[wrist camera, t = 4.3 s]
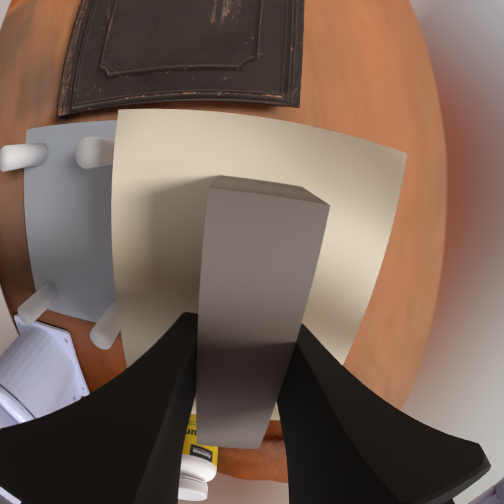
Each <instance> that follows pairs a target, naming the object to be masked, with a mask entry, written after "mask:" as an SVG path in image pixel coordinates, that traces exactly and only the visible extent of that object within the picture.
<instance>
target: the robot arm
mask: <svg viewBox="0 0 504 504" xmlns="http://www.w3.org/2000/svg"><path fill="white" fill-rule="evenodd" d="M14 319H15V322H16V325H17V328H18V331H19V333H20V335H19V336H18V338H17V339H16V340H15V341H14V342H13V343H12V344H11V345H10V347H9V348H8V349H7V350H6V351H5V352H4V353H3V355H2V356H1V357H0V504H178V492H179V480H180V470H181V461H182V452H183V446H184V441H185V436H186V432H187V428H188V424H189V419H190V415H191V411H192V407H193V403H194V399H195V395H196V368H197V334H198V313H191V312H184V313H182V314H181V315H180V316H179V318H178V319H177V320H176V321H175V322H174V324H173V325H172V326H171V327H170V328H169V329H168V330H167V331H166V332H165V334H164V335H163V336H162V337H161V338H160V339H159V340H158V341H157V342H156V343H155V344H154V345H153V346H152V347H151V348H150V349H149V350H148V351H146V352H145V353H144V354H143V355H142V356H141V357H140V358H138V359H137V360H136V361H135V362H134V363H133V364H132V365H130V366H129V367H128V368H127V369H125V370H124V371H123V372H122V373H120V374H119V375H118V376H116V377H115V378H113V379H112V380H111V381H109V382H108V383H106V384H105V385H103V386H101V387H100V388H98V389H97V390H95V391H93V392H92V393H89V390H88V388H87V385H86V382H85V380H84V377H83V374H82V371H81V368H80V365H79V362H78V359H77V356H76V353H75V350H74V346H73V343H72V339H71V336H70V334H69V332H68V331H66V330H63V329H60V328H56V327H53V326H50V325H47V324H44V323H41V322H38V321H34V322H33V324H32V325H30V326H28V325H26V324H25V323H23V322H22V320H21V319H20V317H19V315H18V314H16V315H15V316H14ZM81 396H85V397H83V398H81ZM80 398H81V399H80ZM277 406H278V412H279V417H280V422H281V427H282V432H283V437H284V442H285V448H286V455H287V468H288V485H289V504H455V503H454V501H453V499H452V498H453V497H455V496H457V495H458V494H459V493H461V492H462V491H464V490H465V489H467V488H468V487H469V486H471V485H472V484H473V483H475V482H476V481H477V480H479V479H480V478H481V477H482V476H483V475H485V474H486V473H487V472H488V471H489V470H490V467H491V465H490V463H489V461H488V459H487V457H486V455H485V453H484V451H483V450H482V448H481V446H480V445H479V444H478V443H475V442H471V441H468V440H464V439H461V438H457V437H454V436H452V435H449V434H446V433H444V432H441V431H439V430H437V429H434V428H432V427H429V426H427V425H425V424H423V423H421V422H419V421H417V420H415V419H414V418H412V417H410V416H408V415H407V414H405V413H403V412H402V411H400V410H398V409H397V408H395V407H393V406H392V405H390V404H389V403H387V402H386V401H385V400H383V399H382V398H381V397H379V396H378V395H376V394H375V393H374V392H372V391H371V390H370V389H369V388H367V387H366V386H365V385H364V384H362V383H361V382H360V381H359V380H358V379H357V378H356V377H355V376H353V375H352V374H351V373H350V372H349V371H348V370H347V369H346V368H345V367H344V366H343V365H342V364H341V363H340V362H339V361H338V360H337V359H336V358H335V357H334V356H333V355H332V354H331V353H330V352H329V351H328V350H327V349H326V348H325V347H324V346H323V345H322V344H321V342H320V341H319V340H318V339H317V338H316V337H315V336H314V335H313V334H312V333H311V331H310V330H309V329H308V328H307V327H306V326H305V325H304V324H303V323H301V327H300V330H299V333H298V337H297V340H296V343H295V347H294V350H293V353H292V356H291V360H290V363H289V366H288V369H287V372H286V375H285V378H284V381H283V384H282V387H281V390H280V393H279V396H278V399H277ZM468 504H504V478H503V479H501V480H500V481H499V482H498V483H497V484H495V485H493V486H492V487H491V488H490V489H488V490H486V491H485V492H484V493H482V494H481V495H480V496H478V497H477V498H475V499H474V500H473V501H471V502H470V503H468Z"/></svg>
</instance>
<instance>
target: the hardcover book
mask: <svg viewBox="0 0 504 504" xmlns="http://www.w3.org/2000/svg"><path fill="white" fill-rule="evenodd" d="M303 31H304V0H82V2H81V5H80V7H79V10H78V13H77V16H76V20H75V23H74V26H73V29H72V33H71V37H70V40H69V44H68V48H67V53H66V57H65V62H64V67H63V72H62V78H61V84H60V90H59V97H58V106H57V115H56V116H57V117H58V118H68V115H69V114H74V113H79V112H84V111H90V110H96V109H102V108H109V107H117V106H125V105H135V104H146V103H160V102H185V101H216V102H241V103H256V104H267V105H277V106H286V107H294V108H299V106H300V91H301V74H302V55H303Z"/></svg>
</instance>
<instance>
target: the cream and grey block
mask: <svg viewBox="0 0 504 504" xmlns="http://www.w3.org/2000/svg"><path fill="white" fill-rule="evenodd" d="M406 159H407V153H404V152H402V151H399V150H396V149H393V148H390V147H387V146H384V145H381V144H377V143H374V142H371V141H368V140H364V139H361V138H357V137H354V136H350V135H346V134H342V133H338V132H334V131H330V130H326V129H322V128H317V127H313V126H308V125H303V124H298V123H293V122H288V121H282V120H277V119H270V118H264V117H257V116H250V115H242V114H233V113H224V112H213V111H200V110H181V109H122V110H119V111H118V119H117V126H116V135H115V145H114V157H113V172H112V198H111V227H112V254H113V270H114V282H115V292H116V301H117V309H118V316H119V323H120V330H121V336H122V342H123V347H124V353H125V358H126V363H127V368H128V367H129V366H130V365H132V364H133V363H134V362H135V361H136V360H137V359H138V358H140V357H141V356H142V355H143V354H144V353H145V352H146V351H148V350H149V349H150V348H151V347H152V346H153V345H154V344H155V343H156V342H157V341H158V340H159V339H160V338H161V337H162V336H163V335H164V334H165V332H166V331H167V330H168V329H169V328H170V327H171V326H172V325H173V324H174V322H175V321H176V320H177V319H178V318H179V316H180V315H181V314H182V313H184V312H191V313H198V334H197V368H196V395H195V399H194V403H193V407H192V411H191V414H196V436H197V444H198V445H206V446H216V447H228V448H246V449H259V447H260V445H261V442H262V440H263V437H264V434H265V432H266V429H267V427H268V424H269V421H270V420H280V417H279V412H278V406H277V399H278V396H279V393H280V390H281V387H282V384H283V381H284V378H285V375H286V372H287V369H288V366H289V363H290V360H291V356H292V353H293V350H294V347H295V343H296V340H297V337H298V333H299V330H300V327H301V323H303V324H304V325H305V326H306V327H307V328H308V329H309V330H310V331H311V333H312V334H313V335H314V336H315V337H316V338H317V339H318V340H319V341H320V342H321V344H322V345H323V346H324V347H325V348H326V349H327V350H328V351H329V352H330V353H331V354H332V355H333V356H334V357H335V358H336V359H337V360H338V361H339V362H340V363H341V364H342V365H343V363H344V361H345V359H346V357H347V354H348V352H349V350H350V348H351V345H352V343H353V341H354V338H355V336H356V333H357V331H358V329H359V326H360V324H361V321H362V318H363V316H364V313H365V311H366V308H367V305H368V303H369V300H370V297H371V294H372V291H373V288H374V286H375V283H376V280H377V277H378V274H379V270H380V267H381V264H382V261H383V257H384V254H385V251H386V247H387V244H388V240H389V237H390V233H391V229H392V225H393V221H394V217H395V213H396V209H397V205H398V200H399V196H400V191H401V186H402V181H403V176H404V170H405V165H406Z"/></svg>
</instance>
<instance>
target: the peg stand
mask: <svg viewBox="0 0 504 504" xmlns="http://www.w3.org/2000/svg"><path fill="white" fill-rule="evenodd" d="M116 126H117V120H108V121H92V122H80V123H69V124H61V125H53V126H46V127H39V128H33V129H27V132H26V143H25V144H19V145H8V146H4V147H2V149H1V150H0V170H1V171H9V170H14V169H19V168H24V206H25V221H26V232H27V241H28V249H29V256H30V262H31V268H32V274H33V279H34V284H35V289H36V292H35V293H34V294H33V295H32V296H31V297H30V298H29V299H27V300H26V301H25V302H24V303H23V304H22V305H21V306H20V307H18V315H19V317H20V319H21V320H22V322H23V323H25V324H26V325H28V326H30V325H32V324H33V322H34V321H35V320H36V319H37V318H38V317H39V316H40V315H41V314H42V313H43V312H44V311H45V310H46V309H47V310H51V311H54V312H58V313H61V314H65V315H68V316H72V317H76V318H80V319H84V320H88V321H92V322H96V325H95V326H94V327H93V329H92V330H91V332H90V339H91V341H92V342H93V343H94V344H95V345H96V346H97V347H99V348H101V349H109V348H110V347H111V345H112V344H113V342H114V340H115V338H116V337H117V335H118V333H119V332H120V323H119V316H118V309H117V301H116V292H115V282H114V270H113V254H112V227H111V198H112V172H113V157H114V145H115V135H116Z"/></svg>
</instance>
